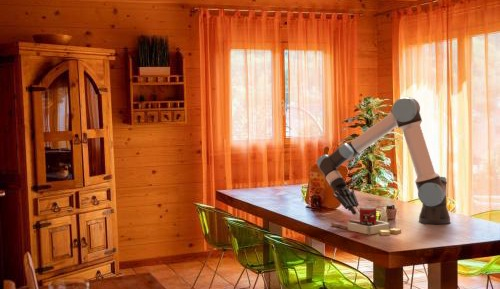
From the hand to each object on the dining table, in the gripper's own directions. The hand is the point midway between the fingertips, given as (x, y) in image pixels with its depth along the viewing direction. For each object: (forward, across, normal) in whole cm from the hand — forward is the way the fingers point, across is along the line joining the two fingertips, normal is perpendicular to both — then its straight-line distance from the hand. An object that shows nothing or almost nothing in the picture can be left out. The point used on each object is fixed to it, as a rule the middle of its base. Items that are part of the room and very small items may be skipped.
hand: (360, 218), depth 293 cm
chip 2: (+16, -5, +9) cm, 19 cm away
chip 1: (+16, +1, +9) cm, 18 cm away
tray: (+7, 0, +1) cm, 7 cm away
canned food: (+7, 0, 0) cm, 7 cm away
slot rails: (-2, 0, -8) cm, 9 cm away
